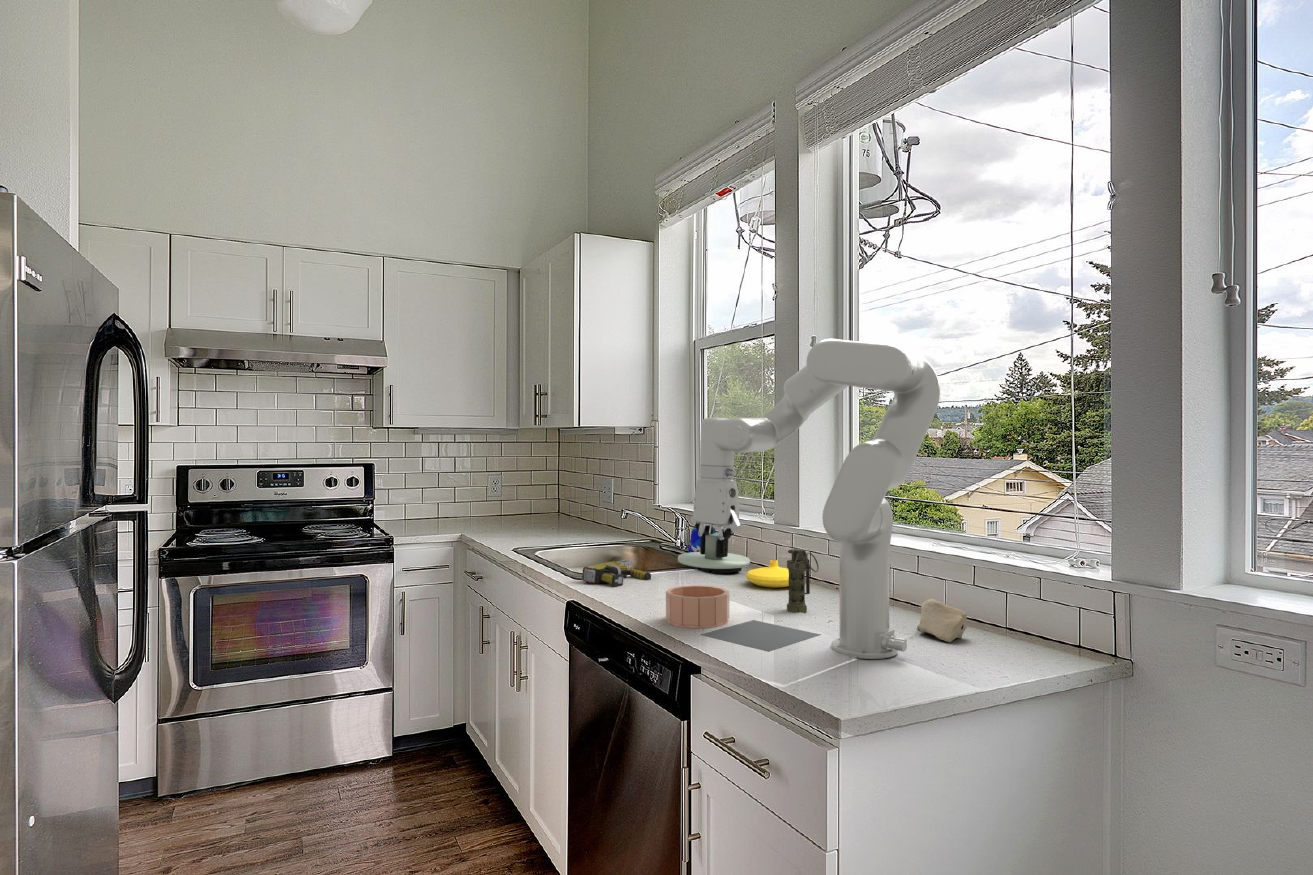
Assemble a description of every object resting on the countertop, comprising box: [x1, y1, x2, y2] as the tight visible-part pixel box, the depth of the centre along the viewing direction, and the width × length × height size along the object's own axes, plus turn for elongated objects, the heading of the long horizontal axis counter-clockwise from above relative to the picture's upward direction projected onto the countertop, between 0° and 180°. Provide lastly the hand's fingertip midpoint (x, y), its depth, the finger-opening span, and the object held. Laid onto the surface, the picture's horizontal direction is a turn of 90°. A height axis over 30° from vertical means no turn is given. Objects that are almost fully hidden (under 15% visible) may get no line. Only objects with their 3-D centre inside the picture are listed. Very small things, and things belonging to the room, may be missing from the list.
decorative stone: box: [916, 598, 968, 643], centre depth 165 cm, size 7×13×7 cm, turn 26°
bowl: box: [665, 584, 730, 629], centre depth 177 cm, size 14×14×7 cm
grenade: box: [786, 548, 819, 614], centre depth 187 cm, size 9×6×15 cm, turn 118°
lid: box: [677, 533, 751, 569], centre depth 173 cm, size 16×16×6 cm
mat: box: [699, 619, 822, 652], centre depth 165 cm, size 18×18×1 cm
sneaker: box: [686, 525, 743, 575], centre depth 245 cm, size 9×24×15 cm, turn 31°
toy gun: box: [581, 559, 652, 587], centre depth 230 cm, size 5×24×15 cm
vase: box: [745, 559, 789, 589], centre depth 220 cm, size 16×16×7 cm
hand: (713, 554), depth 173 cm, fingers closed on lid, 4 cm apart
